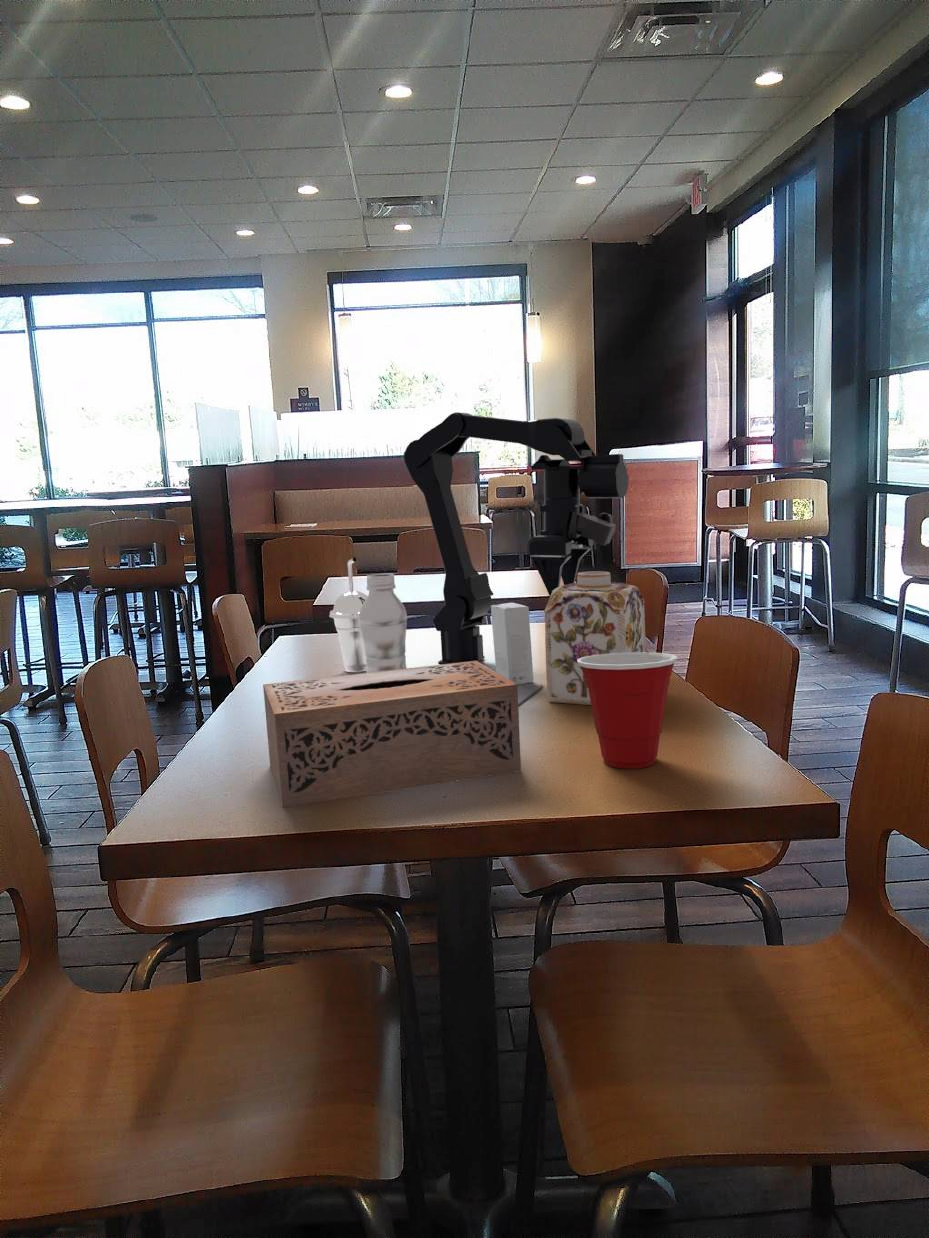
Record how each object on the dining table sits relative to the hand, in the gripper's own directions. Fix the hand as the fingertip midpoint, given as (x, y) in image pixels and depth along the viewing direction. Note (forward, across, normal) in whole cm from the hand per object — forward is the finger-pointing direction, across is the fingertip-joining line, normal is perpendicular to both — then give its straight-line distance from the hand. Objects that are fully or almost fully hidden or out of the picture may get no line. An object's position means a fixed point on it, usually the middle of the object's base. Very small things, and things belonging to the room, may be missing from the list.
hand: (561, 594), depth 145 cm
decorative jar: (+12, -17, -10) cm, 23 cm away
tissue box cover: (+13, -54, +5) cm, 55 cm away
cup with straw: (+14, -6, +35) cm, 38 cm away
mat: (+12, -20, +5) cm, 24 cm away
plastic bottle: (+13, -37, +14) cm, 41 cm away
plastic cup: (+12, -45, -20) cm, 51 cm away
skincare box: (+13, -10, +5) cm, 17 cm away
